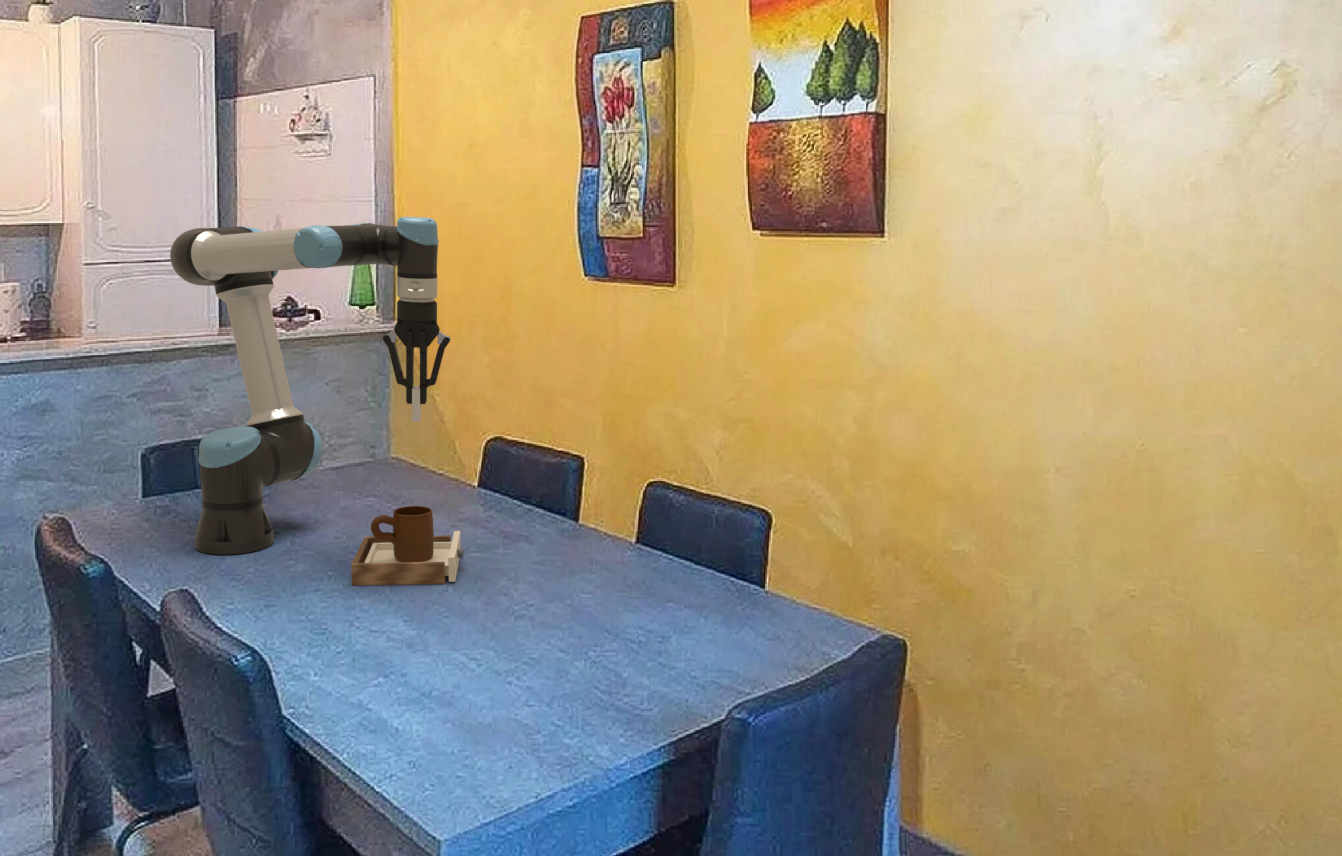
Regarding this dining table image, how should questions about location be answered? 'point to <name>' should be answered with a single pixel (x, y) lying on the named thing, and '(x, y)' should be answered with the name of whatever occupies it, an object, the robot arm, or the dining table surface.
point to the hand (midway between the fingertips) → (416, 420)
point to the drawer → (441, 553)
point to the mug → (408, 533)
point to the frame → (395, 568)
